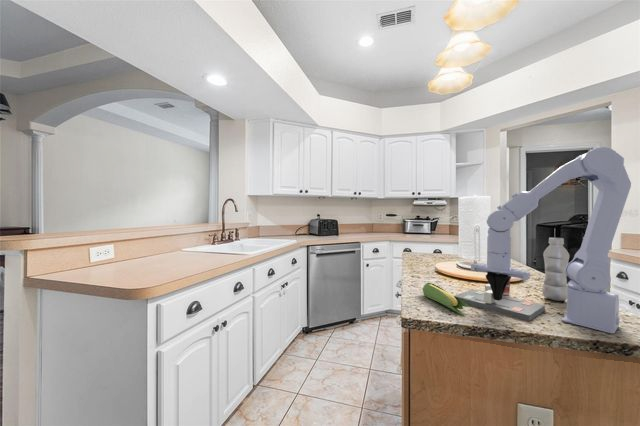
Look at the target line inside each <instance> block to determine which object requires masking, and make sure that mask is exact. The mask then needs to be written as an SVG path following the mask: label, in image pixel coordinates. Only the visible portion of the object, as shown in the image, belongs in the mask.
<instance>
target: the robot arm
mask: <svg viewBox="0 0 640 426" xmlns="http://www.w3.org/2000/svg"><path fill="white" fill-rule="evenodd" d="M624 163H625V158H624V156H622V155H620V154H619V153H618V152H617V151H616V150H614V149H613V148H610V147H607V146H600V147H595V148H593V149H591V150H589V151H588V152H586V153H583V154H580V155H578V156H576V157H575V159H573V160H570V161H569V162H567V163H564V164H563V165H561V166H559V168H557V169H556V170H555V171H553V172H552V173H551V174H550V175H548V176H547V177H546V178H544V179H543V180H542V181H540V182H539V183H538V184H537V185H535V187H533V188H531V190H529V191H519V192H518V193H517V192H515V193H513V194H511V199H509V200H507V202H505V203H504V204H502V205H498V206H497V207H496V209H498V210H495V211H493V212H491V213H490V214H489V215H488V217H487V219H486V224H487V226H488V230H487V234H488V235H487V245H486V247H487V248H486V252H487V253H486V264H482V263H481V264H480V263H470V271H474V272H476V271H477V272H483V273H486V274H485V279H486V280H487V282H488V284H490V286H491V289H492V292H493V296H494V300H501V299H502V296H504V295H503V292H504V290H505V287H506V285H507V284H508V282H509V280H510V281H511V279H512V278H517V279H521V280H524V281H528V280H530V279H531V277H530V276H531V275H530V274H531V271H527V270H521V269H517V268H511V263H512V262H511V259H512V258H511V254H512V253H511V252H512V251H511V250H512V249H511V248H512V237H511V228H512V227H513V226H514V222H518V221H520V220H521V219H522V218H524V217H526V216H527V215H528V214H530V213H532V212H533V211H534V210H535V209H537V208H538V207H539V200H540V199H542V198H543V197H544V196H546V195H548V194H550V192H552V191H553V190H555V189H556V188H558V187H559V186H561V185H562V184H564V183H565V182H567V181H568V180H572V179H576V178H577V179H578V178H580V177H581V178H583V179H584V180H587V181H589V182H590V183H591V184H592V186H594V187H595V188H597V190H598V194H597V195H596V198H595V202H594V205H593V208H592V211H591V214H590V217H589V221H588V224H587V226H586V230H585V232H584V233H585V234H584V236H583V238H582V242H581V246H580V247H579V249H578V250H577V251H576V253H575V254H574V256H573V258H572V260H571V261H570V262H568V265H567V266H566V269H565V271H566V274H567V275H566V277H568V279H570V280H569V281H568V282H567V299H566V315H565V316H564V317H562V318H561V321H562V322H564V323H568V324H573V325H576V326H581V327H584V328H589V329H592V330H597V331H600V332H605V333H608V334H615V333H616V331H617V330H618V328H619V325H620V317H619V315H620V314H619V313H620V312H619V311H620V300H619V299H620V296H619V294H618V293H614V292H609V291H608V290H607V288H608V287H609V286H610V284H611V280H612V277H611V275H610V268H611V262H610V259H609V252H610V249H611V247H612V244H613V242H614V239H615V235H616V233H617V229H618V226H619V223H620V220H621V217H622V214H623V211H624V209H625V205H626V202H627V199H628V197H629V193H630V190H631V188H632V181H631V180H630V176H629V175H628V173H627V170H626V167H625V165H624ZM499 272H500V273H499Z"/></svg>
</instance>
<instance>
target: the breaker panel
mask: <svg viewBox="0 0 640 426" xmlns="http://www.w3.org/2000/svg"><path fill="white" fill-rule="evenodd" d="M484 292H485V291H483V290H478V289H473V288H471V289H469V290H467V291H464V292H461V293H458V294H455V295H454V296H455V297H457V298H458V299H460V300H461V301H463V302H465V303H466V304H467V305H468V306H472V307H475V308H479V309H482V310H487V311H490V312H494V313H498V314H502V315H505V316H509V317H513V318H516V319H519V320H524V321H527V322H530V321H532V320H533V319H535V318H536V317H537V316H539V315H541V314H542V313H543V312H545V311H546V305H545V304H540V303H536V302H532V301H527V300H523V299H519V298H513V297H509V296H507V295H502V299H501V300H496V302H494V303H492V304H490V303H486V302H484Z"/></svg>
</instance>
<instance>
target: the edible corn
mask: <svg viewBox="0 0 640 426" xmlns="http://www.w3.org/2000/svg"><path fill="white" fill-rule="evenodd" d="M422 292H423V294H422V295H424V297H426V298H428V299H430V300H432V301H434V302H436V303H438V304H440V305H442V306H444V307H446V308H448V309H450V310H451V311H454V312H455V313H457V314H459V315H462V316H465V314H464V313H463V312H462V311H461V310H464V308H465V307H466V308H467V307H469V305H468V304H466V303H465V302H463V301H461V300H460V299H458V298H457V297H455V295H453V294H452V293H450V292H448V291H447V290H445V289H443V288H442V287H440V286H439V285H437V284H435V283H431V282H427V283H425V284H424V285H423V287H422Z"/></svg>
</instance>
